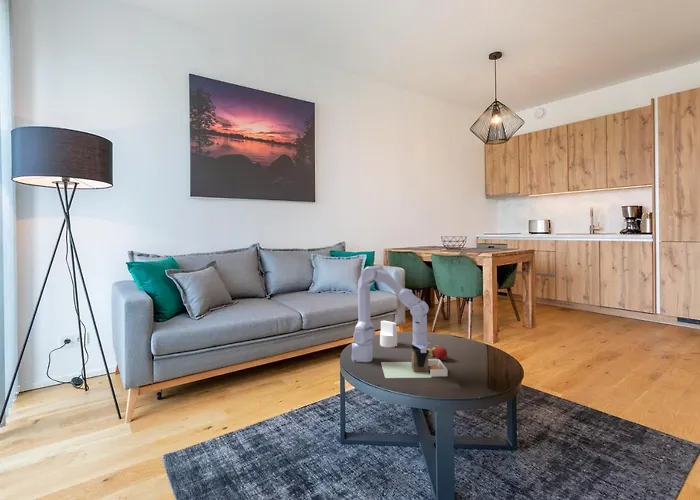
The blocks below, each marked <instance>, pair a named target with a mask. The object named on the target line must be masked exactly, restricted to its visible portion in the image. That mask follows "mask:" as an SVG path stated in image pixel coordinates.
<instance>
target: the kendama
mask: <svg viewBox="0 0 700 500" xmlns="http://www.w3.org/2000/svg"><path fill="white" fill-rule="evenodd" d="M426 350H428V351H429V353H428V356H431V357H432V358H433V357H435V359H439V360H440V361H444V360H446V359H447V358H448V351H447V349H446V348H445V347H443V346H439V345H437V344H435V345H433V346H432V348H428V347H426Z"/></svg>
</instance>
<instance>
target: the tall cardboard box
mask: <svg viewBox="0 0 700 500" xmlns="http://www.w3.org/2000/svg"><path fill="white" fill-rule="evenodd" d="M428 359H429V355H427V357H426V360H425V364H424V367H418V362H417V356H416V353H415V351H413V350H411V362H412V369H413V371H414V372H416V371H428V372H429V371H430V368H429V367H430V366H429V365H428Z"/></svg>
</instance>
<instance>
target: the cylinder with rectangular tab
mask: <svg viewBox="0 0 700 500" xmlns="http://www.w3.org/2000/svg"><path fill="white" fill-rule="evenodd" d="M397 328H398V326H397V322H393V321H388V320H380V332H379V345H380V346H381V347H382V348H395V346H396V347H397V346H398V331H397Z"/></svg>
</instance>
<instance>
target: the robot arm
mask: <svg viewBox="0 0 700 500" xmlns="http://www.w3.org/2000/svg"><path fill="white" fill-rule="evenodd" d="M360 272H361V273H360V276H359V278H358V281H357V313H358V314H357V317H358V320H357V323H356V325H355V327H354V332H353V336H352V337H353V341H354V342H352V343H351V358H350V360H351V361H352V363H357V362H358V363H370V362H372V361H373V339H374V338H375V335H376V331H375V329H374V323H373V322H372V320H371V286H372V285H373V284H374V283H376V282H377V283H384V284H385V285H386V286H387V287H388V288H390V289H391V290H392V291H393V292H394V293H396V294H397V299H398V300H399V301H400V302H401V303H402V304H403V305H404V306H405V307H406V308H408V310H410V311H409V312H410V315H411V316H412V342H411V345H410V346H411V348H412V351H415V353H416V356H417V362H418V367H424V364H425V360H426V357H427V355H428V353H429V351H428V350H426V348H428V347H427V346H430V345H431V342H430V341H428V315H427V314H428V312H429V310H430V307H429V305H428V304H427V302H426V301H424V300H422V299H420V297H419V298H418V297H417V296H416V295H415V294H414V293H413V290H411V289H409V288H403V286H401V284H399V283H398V281H396V280H395V279H394V278H393V276H392V275H391V274H390V273H389V271H388V270H387V269H385V268H384V267H383V266H382V265H380V264H378V265H373V266H366V267H365V268H363V269H362V270H361V271H360ZM428 356H429V355H428Z"/></svg>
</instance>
